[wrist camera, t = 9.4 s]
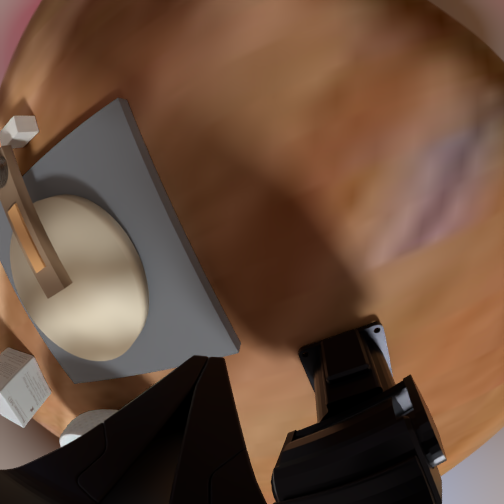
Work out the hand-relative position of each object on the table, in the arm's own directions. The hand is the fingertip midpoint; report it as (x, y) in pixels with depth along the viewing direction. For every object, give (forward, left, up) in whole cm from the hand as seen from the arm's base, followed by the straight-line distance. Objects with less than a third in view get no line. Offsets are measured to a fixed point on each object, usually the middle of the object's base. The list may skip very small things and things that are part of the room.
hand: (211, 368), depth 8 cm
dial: (+5, +14, -11) cm, 18 cm away
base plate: (+5, +13, -12) cm, 19 cm away
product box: (-5, +33, -12) cm, 36 cm away
